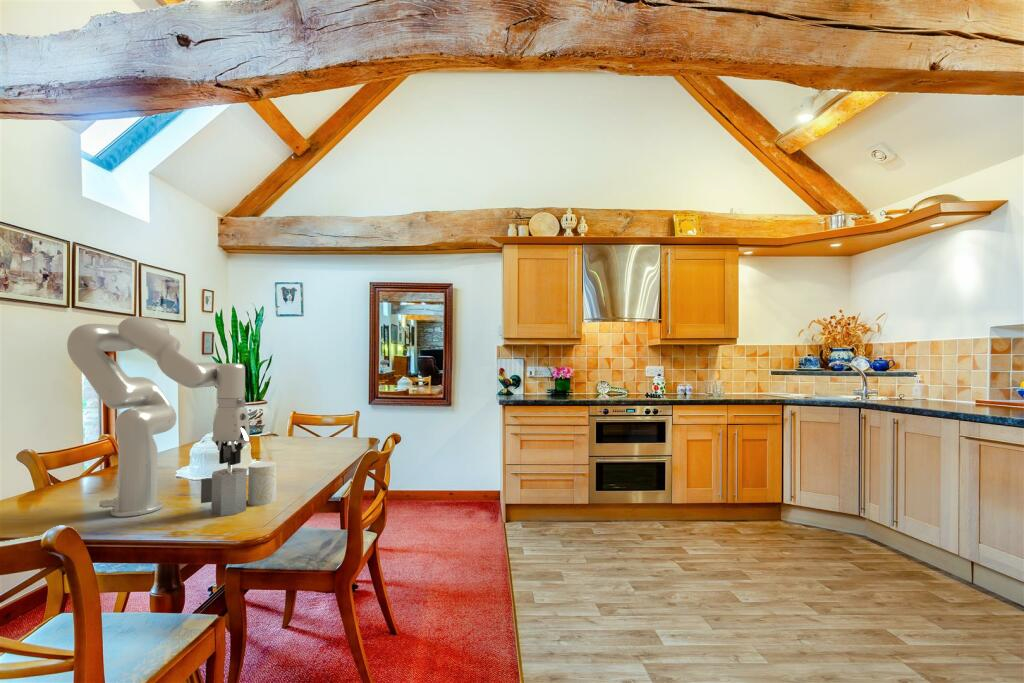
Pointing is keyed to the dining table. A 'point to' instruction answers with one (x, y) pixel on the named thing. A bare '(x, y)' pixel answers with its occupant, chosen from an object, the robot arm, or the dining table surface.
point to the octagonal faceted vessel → (225, 491)
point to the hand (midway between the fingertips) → (229, 462)
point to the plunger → (227, 456)
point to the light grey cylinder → (262, 483)
